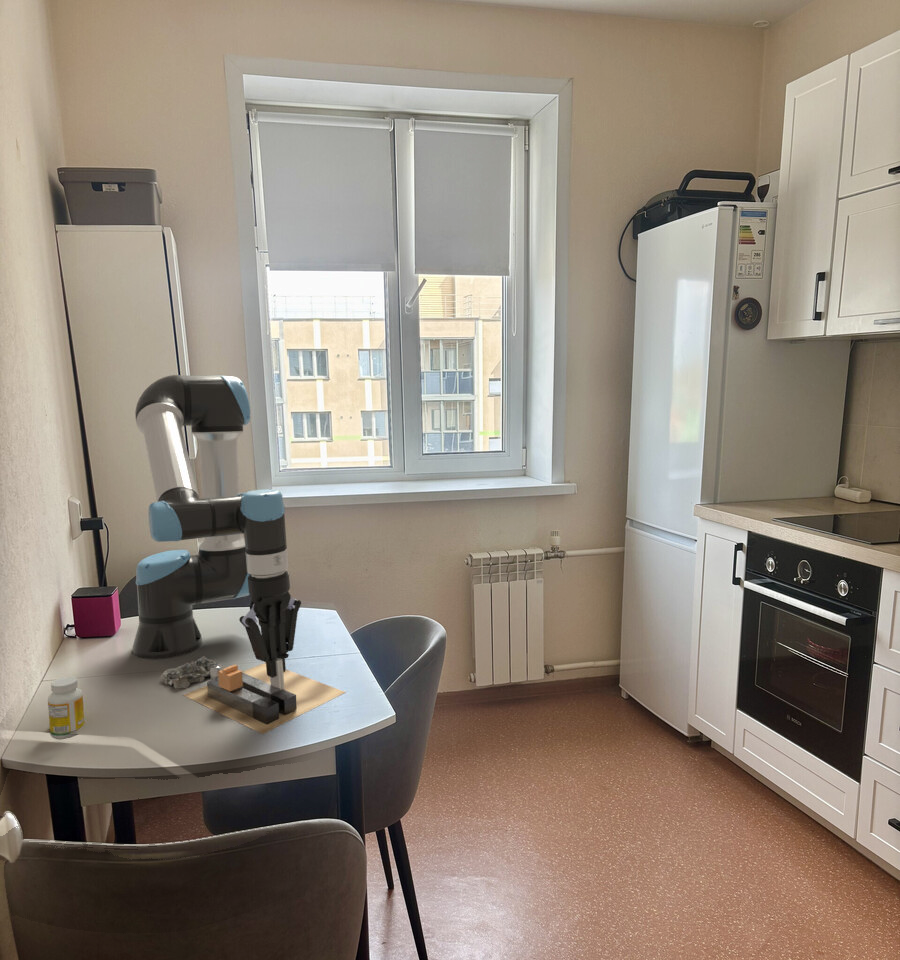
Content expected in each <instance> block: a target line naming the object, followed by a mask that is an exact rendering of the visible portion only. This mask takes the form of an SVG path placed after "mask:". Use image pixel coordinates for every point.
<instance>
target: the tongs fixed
mask: <svg viewBox="0 0 900 960" xmlns="http://www.w3.org/2000/svg"><path fill="white" fill-rule="evenodd" d="M223 667H224V666H223V664H217V665H213V666H211V667H210V676H209V677H210V680H209V681H207V682H206V686H207V690H208V697H210V698H212V699H214V700H216V701H218V702H220V703H223V704H225V705H227V706H229V707H231V708H233V709H235V710H237V711H240V712H242V713H244V714H246V715H248V716H250V717H252V718H254V719H256V720H258V721H260V722H262V723H264V724H266V725H267V724H270V723H272V722H274V721H276V720H278V719H279V704H278V702H276V701H273V700H271V699H269V698H266V697H262V696H260V695H257V694H255V693H253V692H250V691H248V690H246V689H244V688H241V687H240V688H237V689H235V690H232V691H228V690H226V689H224V688H221V687H219V678H218V671H221V670H222V669H224V668H223Z"/></svg>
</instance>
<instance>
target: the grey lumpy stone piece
mask: <svg viewBox="0 0 900 960" xmlns="http://www.w3.org/2000/svg"><path fill="white" fill-rule="evenodd" d="M217 664H218V662H215V661H214V660H212V659H211V658H208V657H206V656H205V655H203V656H201V657H200V658H199V659H196V660H193V661H191V662H190V663H189V662H186V663H184V664H183V665H180V666H177V667H176V668H175V667H174V668H167V669H166V670H164V672H162V674H161V675H160V677H161V678H163V680H164V681H163V683H164V684H165V685H171V686H172V685H173V688H175V689H180V688H188V687H190V686H191V685H190V684H192V683H195V682H196V683H197V682H199V683H201V682H203V681H205V678H207V677H211V676H210V667H211V666H213V665H217ZM205 668H207V671H206V669H205ZM186 673H187V674H188V675H183V674H186ZM189 673H193V674H189Z"/></svg>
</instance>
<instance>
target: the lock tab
mask: <svg viewBox="0 0 900 960" xmlns="http://www.w3.org/2000/svg"><path fill="white" fill-rule="evenodd" d="M238 668H239V666H238V664H232V665H231V666H230V665H229V666H227V667H225V668H223V669H222V670H221V671H218V678H219V687H221V688H224V689H226V690H228V691H232V690H235V689H237V688H240V687H242V686H243V679H242V672H243V670H240V669H238Z"/></svg>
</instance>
